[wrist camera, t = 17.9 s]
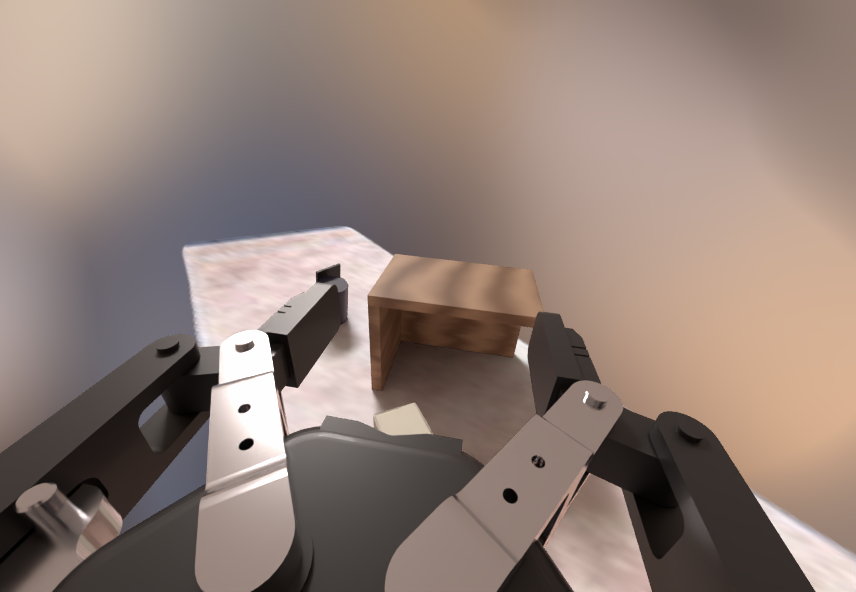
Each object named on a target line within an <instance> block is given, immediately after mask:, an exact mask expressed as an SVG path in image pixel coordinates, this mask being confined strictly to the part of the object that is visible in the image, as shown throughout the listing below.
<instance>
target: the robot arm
mask: <svg viewBox="0 0 856 592" xmlns="http://www.w3.org/2000/svg"><path fill="white" fill-rule="evenodd" d="M340 320H341V316H340V306H339V295H338V288H337V286H336V285H334V284H327V283H319V282H317V283H315V284H314V285H313V286H312V287H311V288H310V289H309V290H308V291H307V292H306V293H304V292H303V293H301V294H299V295H297V296H295V297H293V298H291V299H290V300H289V301H288V302H287V303H286V304H285V305H284V307H281V308H280V309H279V310H278V312H276V313H275V314H274V315H273V316H272V317H271V318H270V319H268V320H267V321H266V322H265V323H264V324H263V325H262V326H261V327H260V328H259V329H258V330H257V331H245V332H240V333H237V334H235V335H233V336H231V337H229V338H228V339H226V340H225V341H224V342H223V343H222V344H221V346H213V347H198V346H197V343H196V341H195V339H194V337H192V336H190V335H185V334H184V335H183V334H180V335H172V336H168V337H164V338H161V339H159V340H157V341H155V342H153V343H151V344H150V345H148V346H147V347H145V348H144V349H143V350H141V351H140V352H139V353H137V354H136V355H134V356H133V357H132V358H130V359H129V360H128V361H126V362H125V363H124V364H122V365H121V366H119V367H118V368H117V369H115V370H114V371H112V372H111V373H110V374H108V375H107V376H106V377H104V378H103V379H102V380H100V381H99V382H97V383H96V384H95V385H93V386H92V387H91V388H89V389H88V390H86V391H85V392H84V393H83V394H81V395H80V396H78V397H77V398H76V399H74V400H73V401H71V402H70V403H69V404H67V405H66V406H65V407H63V408H62V409H60V410H59V411H58V412H57V413H55V414H54V415H52V416H51V417H50V418H48V419H47V420H45V421H44V422H43V423H41V424H40V425H39V426H37V427H36V428H34V429H33V430H32V431H30V432H29V433H28V434H26V435H25V436H23V437H22V438H21V439H19V440H18V441H17V442H15V443H14V444H13V445H11V446H10V447H8V448H7V449H6V450H5V451H3V452H2V453H0V592H574V591H573V590H572V588H571V587H570V585H569V584H568V582H567V581H566V579H565V578H564V576H563V575H562V574H561V572H560V571H559V569H558V568H557V566H556V565H555V563H554V562H553V560H552V559H551V557H550V556H549V554H548V553H547V551H546V550H545V546H546V544H547V543H548V541H549V540H550V538H551V536H552V535H553V533H554V531H555V529H556V528H557V526H558V524H559V522H560V521H561V519H562V517H563V516H564V514H565V512H566V511H567V509H568V508H569V506H570V505H571V503H572V501H573V500H574V498H575V497H576V495H577V494H578V492H579V490H580V489H581V487H582V486H583V484H584V483H585V481H586V480H587V478H588V476H589V475H590V473H591V474H593V475H595V476H597V477H600V478H602V479H604V480H606V481H608V482H610V483H612V484H614V485H617V486H619V487H621V488H622V491H623V494H624V498H625V501H626V505H627V508H628V511H629V515H630V518H631V521H632V525H633V528H634V532H635V535H636V538H637V542H638V545H639V549H640V552H641V555H642V559H643V562H644V565H645V569H646V572H647V576H648V579H649V582H650V586H651V589H652V592H815V590H814V589H813V587H812V585H811V584H810V582H809V581H808V579H807V578H806V576H805V574H804V573H803V571H802V570H801V568H800V567H799V565H798V563H797V562H796V560H795V559H794V557H793V556H792V554H791V553H790V551H789V549H788V548H787V546H786V545H785V543H784V542H783V540H782V538H781V537H780V535H779V534H778V532H777V531H776V529H775V527H774V526H773V524H772V523H771V521H770V520H769V518H768V516H767V515H766V513H765V512H764V510H763V509H762V507H761V506H760V504H759V502H758V501H757V499H756V498H755V496H754V495H753V493H752V491H751V490H750V488H749V487H748V485H747V484H746V482H745V481H744V479H743V477H742V476H741V474H740V473H739V471H738V470H737V468H736V466H735V465H734V463H733V462H732V460H731V459H730V457H729V455H728V454H727V452H726V451H725V449H724V448H723V446H722V444H721V443H720V441H719V440H718V438H717V437H716V436H715V435H714V433H713V432H712V431H711V430H710V429H708V428H707V427H706V426H705V425H703V424H702V423H700V422H699V421H697V420H696V419H694V418H692V417H690V416H687V415H685V414H681V413H678V412H672V411H671V412H670V411H667V412H663V413H661V414H660V415H659V416H658V418H657V419H656V421H655V420H652V419H650V418H647V417H644V416H642V415H639V414H637V413H634V412H632V411H629V410H627V409H625V408H623V404H622V402H621V400H620V399H619V397H618V396H617V395H616V394H615V393H614V392H613V391H612V390H610V389H609V388H607V387H606V386H604V385H602V384H601V382H600V380H599V377H598V375H597V372H596V370H595V368H594V365H593V363H592V361H591V358H589V354H588V351H587V350H586V346H585V344H584V341H583V339H582V338H581V336H580V335H579V334H577V333H576V332H575V331H574V330H573V329H570V328H565V327H564V324H563V321H562V319H561V316H560V314H556V313H548V312H540V311H539V312H538V313H537V316H536V319H535V323H534V327H533V331H532V335H531V339H530V342H529V347H528V364H529V370H530V376H531V383H532V389H533V395H534V401H535V408H536V415H534V416H533V417H532V418H531V419H530V420H529V421H528V422H527V423H526V424H525V425H524V426H523V427H522V428H521V429H520V430H519V432H518V433H517V434H516V435H515V436H514V437H513V438H512V439H511V440H510V441H509V442H508V443H507V444H506V445H505V446H504V447H503V448H502V449H501V450H500V451H499V452H498V453H497V454H496V455H495V456H494V457H493V458H492V459H491V460H490V461H489V462H488V463H487V464H486V465H485V466H484V465H483V464H482V463H481V462H479V461H478V460H477V459H475V458H474V457H472V456H470V455H468V454H466V453H464V452H462V451H461V450H462V440H461V439H455V438H449V437H444V436H438V435H433V434H411V435H388V434H386V433H384V432H381V431H379V430H377V429H375V428H372V427H370V426H368V425H366V424H364V423H361V422H359V421H354V420H348V419H343V418H337V417H332V416H326V418H325V420H324V421H323V423H322V425H321V426H319V427H312V428H307V429H303V430H300V431H297V432H294V433H292V434H289V431H288V425H287V420H286V414H285V409H284V403H283V398H282V393H281V391H282V389H283V388H284V387H285V386H289V387H295V388H298V387H299V386H300V384H301V383H302V381H303V380H304V378H305V377H306V376H307V374H308V373H309V371H310V370H311V368H312V367H313V365H314V364H315V363H316V361H317V360H318V358H319V357H320V355H321V354H322V353H323V351H324V350H325V348H326V347H327V345H328V344H329V343H330V341H331V340H332V338H333V337H334V335H335V334H336V333H337V331H338V329H339V326H340ZM160 395H162V397H163V399H164V401H165V405H163V406H162V407H161V408H160V409H159V410H158V411H157V412H156V413H155V414H154V415H153V416H152V417H151V418H150V419H149V420H148V421H147V422H146V423H145V424H143V426H142V427H140V428H139V426H138V421H139V417H140V415H141V414H142V412H143V411H144V409H146V407H148V406H149V405H150V404H151V403H152V402H153V401H154V400H155V399H156V398H157V397H158V396H160ZM209 417H210V427H209V444H208V459H207V476H206V484H205V485H203V486H201V487H199V488H198V489H196V490H194V491H193V492H191V493H189V494H188V495H186V496H184V497H183V498H181V499H179V500H178V501H176V502H174V503H173V504H171V505H169V506H168V507H166V508H164V509H163V510H161V511H159V512H158V513H156V514H154V515H153V516H151V517H149V518H147V519H146V520H144V521H142V522H141V523H139V524H137V525H136V526H134V527H133V528H131V529H129V530H128V531H126V532H124V533H123V534H121V535H119V533H120V530H121V527H122V520H123V519H124V518H125V517H126V515H127V514H128V513H129V512H130V511H131V510H132V509H133V507H134V506H135V505H136V504H137V503H138V501H139V500H140V499H141V498H142V497H143V495H144V494H145V493H146V492H147V491H148V490H149V488H150V487H151V486H152V485H153V484H154V482H155V481H156V480H157V479H158V478H159V476H160V475H161V474H162V473H163V472H164V471H165V469H166V468H167V467H168V466H169V465H170V463H171V462H172V461H173V460H174V459H175V457H176V456H177V455H178V454H179V453H180V452H181V450H182V449H183V448H184V447H185V446H186V444H187V443H188V442H189V441H190V440H191V439H192V437H193V436H194V435H195V434H196V433H197V431H198V430H199V429H200V428H201V427H202V425H203V424H204V423H205V422H206V421H207V420H208V418H209ZM118 535H119V536H118Z"/></svg>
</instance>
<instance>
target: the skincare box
mask: <svg viewBox="0 0 856 592" xmlns="http://www.w3.org/2000/svg"><path fill="white" fill-rule="evenodd" d="M373 420H374V428H375V429H377V430H379V431H381V432H384V433H386V434H388V435H411V434H433V432H432V431H431V429H430V427H429V425H428V423H427V422H426V420H425V418H424V416H423V415H422V413H421V411H420V410H419V408H418V406H417V405H416V403H411V404H407V405H403V406H400V407H396V408H393V409H390V410H386V411H383V412H380V413H376V414H374V416H373ZM433 435H434V434H433Z"/></svg>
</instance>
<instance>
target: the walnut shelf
mask: <svg viewBox="0 0 856 592" xmlns="http://www.w3.org/2000/svg"><path fill="white" fill-rule="evenodd" d="M539 311H540V312H544V310H543V307H542V303H541V299H540V296H539V292H538V289H537V285H536V281H535V278H534V274H533V271H532V270H529V269H520V268H512V267H502V266H494V265H485V264H477V263H468V262H459V261H451V260H442V259H433V258H425V257H416V256H407V255H399V254H395V255H394V257H393V258H392V260H391V261H390V263H389V264H388V266H387V267H386V269H385V270H384V272H383V273H382V275H381V276H380V278H379V279H378V281H377V282H376V284H375V285H374V286H373V288H372V289H371V291H370V292H369V294H368V315H369V337H370V358H371V380H372V389H374V390H380V391H382V388H383V386H384V383H385V380H386V378H387V375H388V373H389V370H390V368H391V365H392V362H393V360H394V357H395V355H396V352H397V350H398V347H399V344H400V342H401V341H405V342H411V343H418V344H425V345H432V346H439V347H446V348H452V349H459V350H466V351H473V352H480V353H487V354H493V355H500V356H507V357H513V356H514V352H515V348H516V344H517V340H518V336H519V331H520V327H521V326H524V327H532V328H533V327H534V323H535V319H536V316H537V313H538V312H539Z"/></svg>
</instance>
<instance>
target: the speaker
mask: <svg viewBox="0 0 856 592" xmlns="http://www.w3.org/2000/svg"><path fill="white" fill-rule="evenodd" d="M317 282H319V283H327V284H334V285H336V286H337V288H338V295H339V306H340V316H341V320H340V324H343V323H344V322H345V321H346V318H347V309H348V284H347V282H346V281H345V280H344V279H343V278H340V264H336V265H333V266H330V267H328V268H325V269H322V270H319V271H316V283H317Z"/></svg>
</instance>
